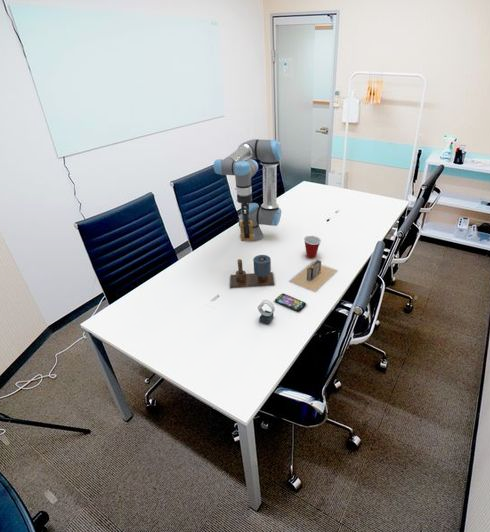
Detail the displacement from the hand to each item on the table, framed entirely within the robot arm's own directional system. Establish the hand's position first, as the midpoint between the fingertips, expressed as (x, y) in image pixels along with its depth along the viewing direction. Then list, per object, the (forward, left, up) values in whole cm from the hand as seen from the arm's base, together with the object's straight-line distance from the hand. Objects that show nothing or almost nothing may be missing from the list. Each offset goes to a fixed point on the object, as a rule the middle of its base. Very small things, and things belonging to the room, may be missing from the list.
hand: (247, 234), depth 180 cm
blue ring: (+10, +2, -19) cm, 22 cm away
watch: (+38, -17, -26) cm, 49 cm away
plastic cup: (+9, +42, -26) cm, 50 cm away
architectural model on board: (+26, +27, -26) cm, 45 cm away
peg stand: (+7, -3, -25) cm, 26 cm away
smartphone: (+36, 0, -25) cm, 44 cm away
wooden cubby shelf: (0, 0, -2) cm, 2 cm away
